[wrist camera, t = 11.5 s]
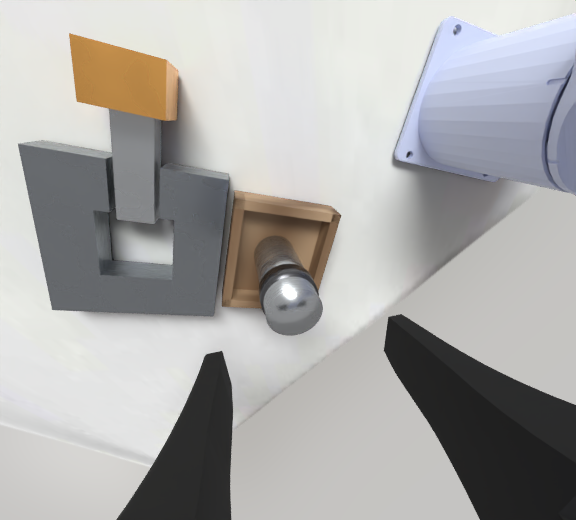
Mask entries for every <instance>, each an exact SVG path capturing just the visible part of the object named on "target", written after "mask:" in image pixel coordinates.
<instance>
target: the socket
mask: <svg viewBox="0 0 576 520" xmlns="http://www.w3.org/2000/svg"><path fill="white" fill-rule="evenodd" d="M18 146H19V151H20V156H21V161H22V166H23V171H24V175H25V180H26V185H27V190H28V195H29V200H30V204H31V209H32V214H33V219H34V224H35V228H36V233H37V238H38V243H39V248H40V253H41V257H42V262H43V267H44V272H45V277H46V281H47V286H48V291H49V296H50V301H51V306H52V310H67V311H93V312H118V313H144V314H169V315H194V316H214V308H215V299H216V290H217V281H218V272H219V263H220V254H221V245H222V237H223V228H224V219H225V210H226V201H227V192H228V183H229V174H227V173H222V172H216V171H211V170H205V169H199V168H194V167H188V166H183V165H177V164H171V163H166V164H165V165H163V166H162V167H161V168H160V219H167V220H174V241H173V265H165V264H154V263H142V262H130V261H118V260H112V253H111V241H110V229H109V216H108V212H110V211H112V210H113V209H114V208H115V207H116V202H115V187H114V173H113V158H112V153H110V152H104V151H99V150H93V149H88V148H82V147H76V146H71V145H65V144H60V143H54V142H48V141H43V140H42V141H35V142H27V143H20V144H18Z"/></svg>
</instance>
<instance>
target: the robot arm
mask: <svg viewBox="0 0 576 520" xmlns="http://www.w3.org/2000/svg"><path fill="white" fill-rule="evenodd" d="M454 27H456V29H457V31H456V34H455V35H454V33H453V30H454ZM408 152H410V155H409V157H408V158H407V157H406V154H407V153H408ZM394 156H395V159H396V160H399V161H403V162H407V163H411V164H416V165H420V166H424V167H429V168H433V169H437V170H442V171H446V172H451V173H455V174H459V175H464V176H468V177H472V178H477V179H481V180H485V181H490V182H495V181H497V180H498V179H499V178H505V179H509V180H514V181H518V182H523V183H527V184H531V185H536V186H540V187H545V188H549V189H554V190H558V191H563V192H568V193H572V194H574V195H576V13H574V14H571V15H567V16H564V17H560V18H557V19H554V20H550V21H547V22H544V23H540V24H537V25H534V26H530V27H527V28H523V29H520V30H517V31H513V32H510V33H507V34H503V35H500V36H499V35H496V34H494V33H492V32H489V31H487V30H485V29H482V28H480V27H477V26H475V25H473V24H470V23H468V22H466V21H463V20H461V19H459V18H456V17H454V16H451V17H448V18H446V19H444V20H443V21H442V22H441V24H440V26H439V29H438V32H437V35H436V37H435V40H434V43H433V46H432V49H431V51H430V54H429V57H428V60H427V63H426V65H425V68H424V71H423V74H422V77H421V79H420V82H419V85H418V88H417V91H416V93H415V96H414V99H413V102H412V105H411V107H410V110H409V113H408V116H407V119H406V121H405V124H404V127H403V130H402V133H401V135H400V138H399V141H398V144H397V147H396V149H395V153H394ZM483 174H484V175H483ZM384 351H385V353H386V355H387V357H388V360H389V362H390V364H391V365H392V367H393V369H394V371H395V373H396V374H397V376H398V378H399V379H400V380H401V382H402V383H403V385H404V387H405V388H406V390H407V391H408V393H409V394H410V396H411V397H412V399H413V400H414V402H415V403H416V405H417V406H418V408H419V409H420V410H421V412H422V413H423V415H424V416H425V418H426V419H427V421H428V422H429V424H430V426H431V427H432V429H433V431H434V432H435V434H436V436H437V437H438V439H439V441H440V443H441V445H442V447H443V448H444V450H445V452H446V454H447V456H448V458H449V459H450V461H451V463H452V465H453V467H454V469H455V471H456V472H457V475H458V477H459V478H460V480H461V482H462V484H463V486H464V488H465V490H466V492H467V494H468V496H469V498H470V500H471V502H472V504H473V506H474V508H475V510H476V512H477V515H478V516H479V519H480V520H576V405H574V404H571V403H569V402H566V401H564V400H561V399H559V398H556V397H553V396H551V395H549V394H546V393H544V392H542V391H539V390H537V389H535V388H532V387H530V386H528V385H526V384H523V383H521V382H519V381H517V380H514V379H512V378H510V377H508V376H506V375H504V374H502V373H500V372H498V371H496V370H494V369H492V368H490V367H488V366H486V365H484V364H483V363H481V362H479V361H477V360H475V359H473V358H472V357H470V356H468V355H466V354H465V353H463V352H461V351H459V350H458V349H456V348H454V347H453V346H451V345H449V344H447V343H446V342H444V341H443V340H441V339H439V338H438V337H436V336H435V335H433V334H432V333H430V332H428V331H427V330H425V329H424V328H422V327H421V326H419V325H417V324H416V323H414V322H413V321H411V320H410V319H408V318H407V317H405V316H403V315H402V314H401V315H396V316H391V317H388V324H387V332H386V339H385V347H384ZM232 421H233V402H232V386H231V381H230V377H229V374H228V370H227V367H226V363H225V360H224V356H223V352H222V351H220V352H215V353H210V354H207V355H206V356H205V357H204V360H203V363H202V366H201V368H200V371H199V374H198V376H197V379H196V381H195V384H194V386H193V388H192V391H191V393H190V395H189V397H188V399H187V402H186V404H185V406H184V408H183V410H182V412H181V414H180V416H179V418H178V420H177V422H176V424H175V426H174V428H173V430H172V432H171V434H170V436H169V437H168V439H167V441H166V443H165V445H164V446H163V448H162V450H161V452H160V453H159V455H158V457H157V458H156V460H155V462H154V464H153V465H152V467H151V468H150V470H149V472H148V474H147V475H146V476H145V478H144V480H143V481H142V483H141V484H140V486H139V487H138V489H137V491H136V492H135V494H134V495H133V497H132V498H131V500H130V501H129V503H128V504H127V505H126V507H125V508H124V510H123V511H122V513H121V514H120V515H119V517H118V518H117V520H231V504H230V503H231V502H230V465H231V445H232Z"/></svg>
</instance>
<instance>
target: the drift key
mask: <svg viewBox="0 0 576 520" xmlns="http://www.w3.org/2000/svg"><path fill="white" fill-rule="evenodd" d="M69 37H70V46H71V54H72V63H73V72H74V81H75V90H76V99H77V102H82V103H86V104H91V105H95V106H100V107H105V108H109V114H110V129H111V143H112V158H113V173H114V187H115V202H116V217H117V220H124V221H132V222H141V223H149V224H155V223H156V221H157V220H158V218H159V217H160V168H161V120H164V121H170V120H177V101H178V70H177V69H176V68H175V67H174V66H173V65H172V64H170V63H169V62H168V61H167V60H165V59H161V58H158V57H154V56H150V55H147V54H143V53H139V52H136V51H132V50H128V49H125V48H121V47H117V46H114V45H110V44H106V43H103V42H99V41H95V40H92V39H88V38H84V37H81V36H77V35H73V34H70V33H69Z"/></svg>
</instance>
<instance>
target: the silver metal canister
mask: <svg viewBox="0 0 576 520" xmlns="http://www.w3.org/2000/svg"><path fill="white" fill-rule="evenodd" d="M254 259H255V264H256V269H257V274H258V279H259V289H258V291H259V297H260V303H261V308H262V310H263V312H264V314H265V315H266V319H267V323H268V325H269V326H270V328H271V329H272V330H274V331H275V332H277V333H279V334H282V335H297V334H301V333H304V332H306V331H308V330H309V329H311V328H312V327H313V326H314V325H315V324H316V323H317V322H318V321H319V319H320V317H321V315H322V310H323V307H322V302H321V300H320V298H319V293H318V289H317V286H316V284H315V282H314V281H313V279H312V277H311V275H310V273H309V272H308V271H307V270H306V269H305V268H304V267H303V265H302V263H301V261H300V259H299V257H298V255H297V253H296V252H295V250H294V248H293V246H292V244H291V242H290V241H289V240H287V239H286V238H284V237H282V236H269V237H266V238H264V239H263V240H261V241H260V242H259V243H258V245H257V246H256V248H255V252H254Z"/></svg>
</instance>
